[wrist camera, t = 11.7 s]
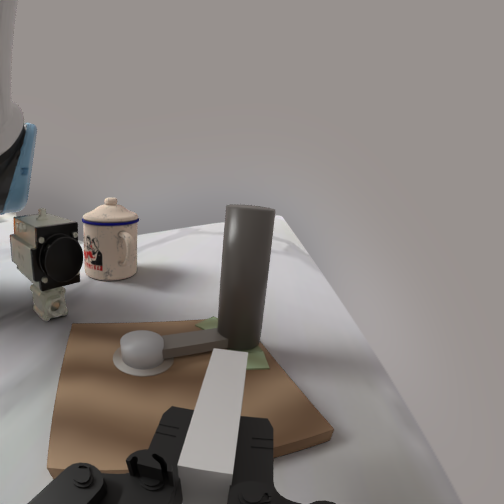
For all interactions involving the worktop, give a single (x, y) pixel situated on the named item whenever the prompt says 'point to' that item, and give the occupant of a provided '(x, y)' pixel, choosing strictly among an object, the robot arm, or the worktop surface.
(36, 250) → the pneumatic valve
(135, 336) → the peg lever
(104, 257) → the teacup with lid
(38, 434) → the worktop surface
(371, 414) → the worktop surface
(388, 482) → the worktop surface
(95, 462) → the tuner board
